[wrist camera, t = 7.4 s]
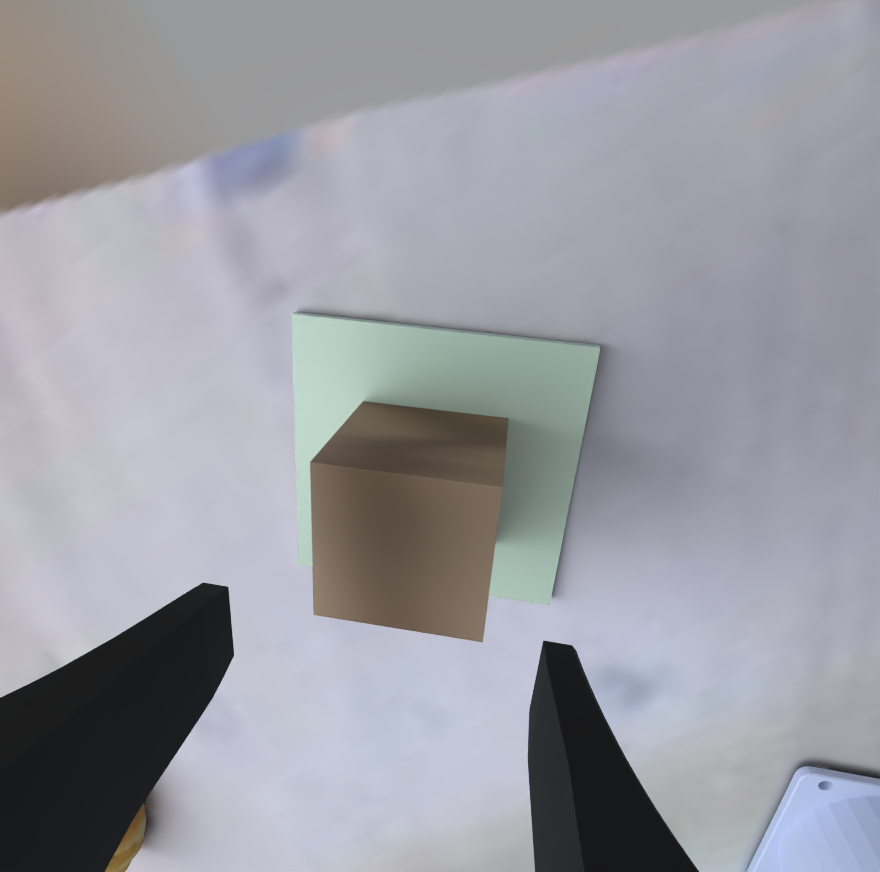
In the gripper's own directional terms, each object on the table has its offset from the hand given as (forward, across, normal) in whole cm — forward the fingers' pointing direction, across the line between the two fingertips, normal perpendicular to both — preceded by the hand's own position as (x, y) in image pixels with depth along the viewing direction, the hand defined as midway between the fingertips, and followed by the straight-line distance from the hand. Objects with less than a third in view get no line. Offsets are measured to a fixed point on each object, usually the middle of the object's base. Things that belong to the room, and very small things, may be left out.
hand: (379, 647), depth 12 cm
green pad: (+8, 0, -1) cm, 8 cm away
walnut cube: (+8, 0, 0) cm, 8 cm away
